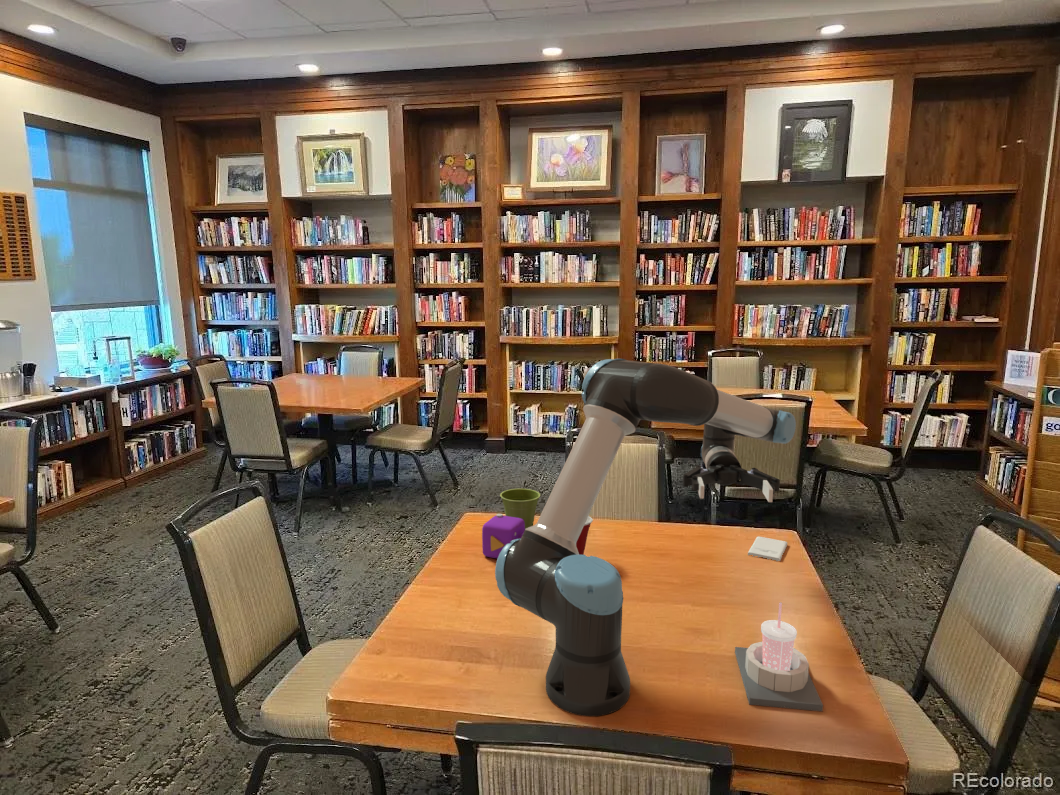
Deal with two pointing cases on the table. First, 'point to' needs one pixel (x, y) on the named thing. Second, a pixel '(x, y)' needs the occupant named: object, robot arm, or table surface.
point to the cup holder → (777, 681)
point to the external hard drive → (768, 548)
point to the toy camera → (500, 533)
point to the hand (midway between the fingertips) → (736, 494)
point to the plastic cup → (583, 536)
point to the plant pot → (521, 504)
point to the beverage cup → (778, 643)
